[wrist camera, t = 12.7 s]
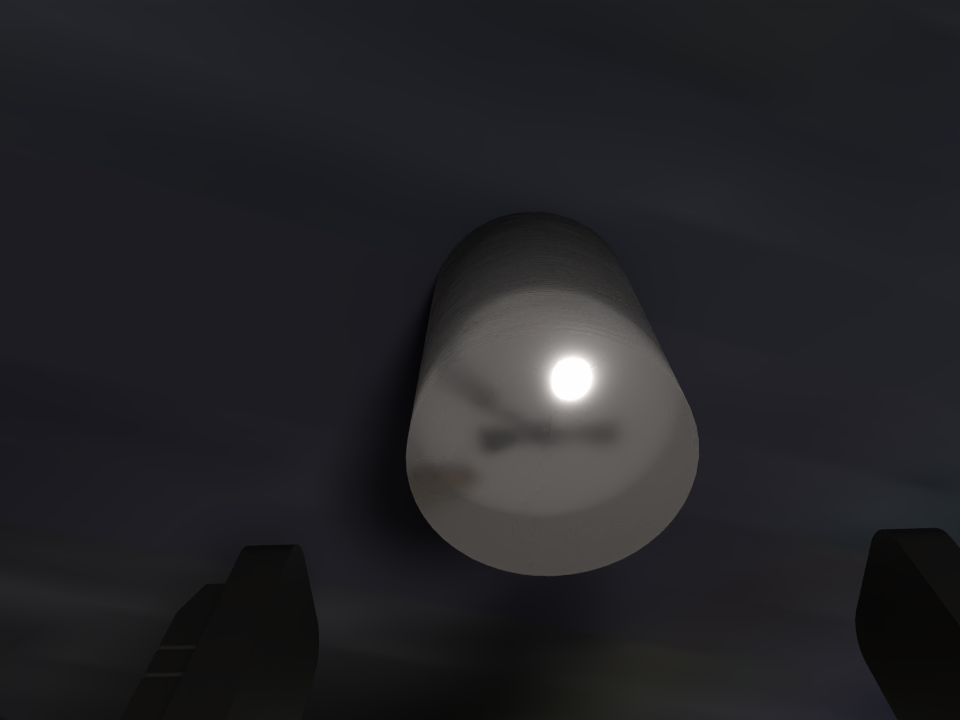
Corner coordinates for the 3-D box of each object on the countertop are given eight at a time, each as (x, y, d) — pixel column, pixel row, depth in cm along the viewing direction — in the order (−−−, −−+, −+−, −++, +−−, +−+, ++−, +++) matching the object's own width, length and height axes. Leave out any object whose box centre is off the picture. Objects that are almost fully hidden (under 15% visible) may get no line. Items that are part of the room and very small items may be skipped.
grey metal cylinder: (423, 218, 18) (389, 340, 12) (630, 205, 18) (710, 323, 11) (441, 397, 20) (421, 581, 14) (625, 388, 20) (689, 570, 14)
